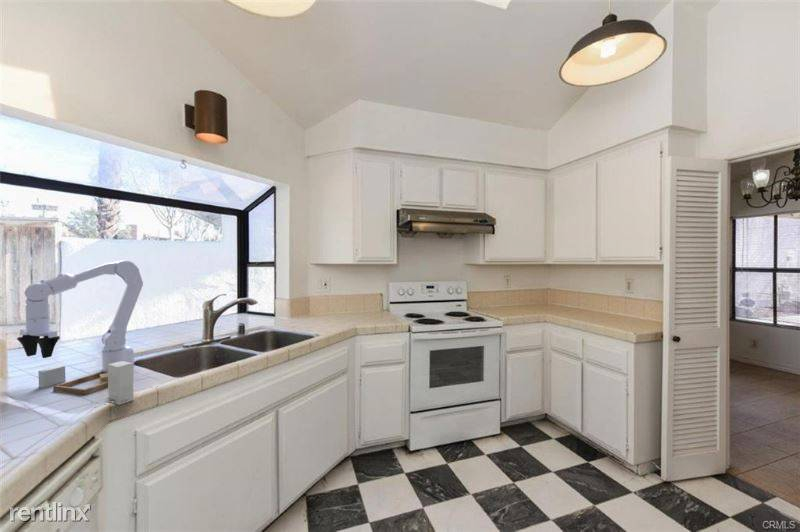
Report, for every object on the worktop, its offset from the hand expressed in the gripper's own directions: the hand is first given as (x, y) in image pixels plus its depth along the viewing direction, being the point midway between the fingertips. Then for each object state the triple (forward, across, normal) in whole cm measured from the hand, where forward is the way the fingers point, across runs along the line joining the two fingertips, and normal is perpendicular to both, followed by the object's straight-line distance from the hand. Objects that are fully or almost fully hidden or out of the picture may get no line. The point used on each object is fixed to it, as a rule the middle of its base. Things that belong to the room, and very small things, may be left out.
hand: (39, 356), depth 119 cm
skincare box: (+11, +40, -2) cm, 41 cm away
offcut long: (+11, +21, +7) cm, 25 cm away
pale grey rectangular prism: (+10, +7, -1) cm, 13 cm away
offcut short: (+9, +21, +7) cm, 24 cm away
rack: (+10, +21, +3) cm, 24 cm away
